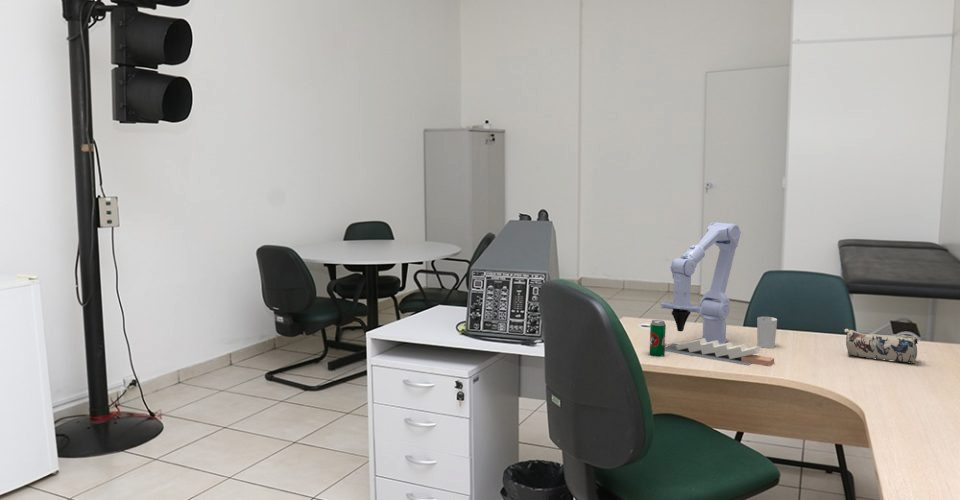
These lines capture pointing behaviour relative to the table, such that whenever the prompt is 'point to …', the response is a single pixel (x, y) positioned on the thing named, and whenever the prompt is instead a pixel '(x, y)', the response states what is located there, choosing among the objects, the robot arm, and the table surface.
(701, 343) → the domino
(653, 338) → the soda can
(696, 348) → the domino
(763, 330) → the drinking glass
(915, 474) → the table surface
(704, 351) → the domino
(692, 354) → the felt mat
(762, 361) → the domino
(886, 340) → the pencil case
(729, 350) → the domino
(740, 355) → the domino
